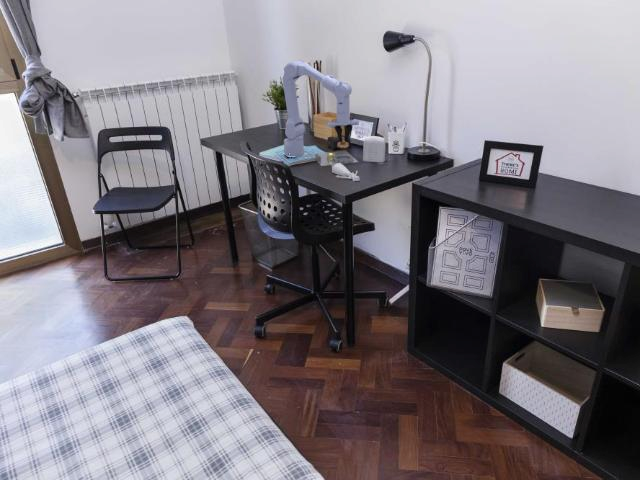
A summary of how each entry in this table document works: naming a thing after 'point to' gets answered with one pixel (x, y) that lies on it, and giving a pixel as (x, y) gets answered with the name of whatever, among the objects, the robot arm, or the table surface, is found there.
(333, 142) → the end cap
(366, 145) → the photo printer
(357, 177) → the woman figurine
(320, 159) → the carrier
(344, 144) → the gear
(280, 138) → the table surface
